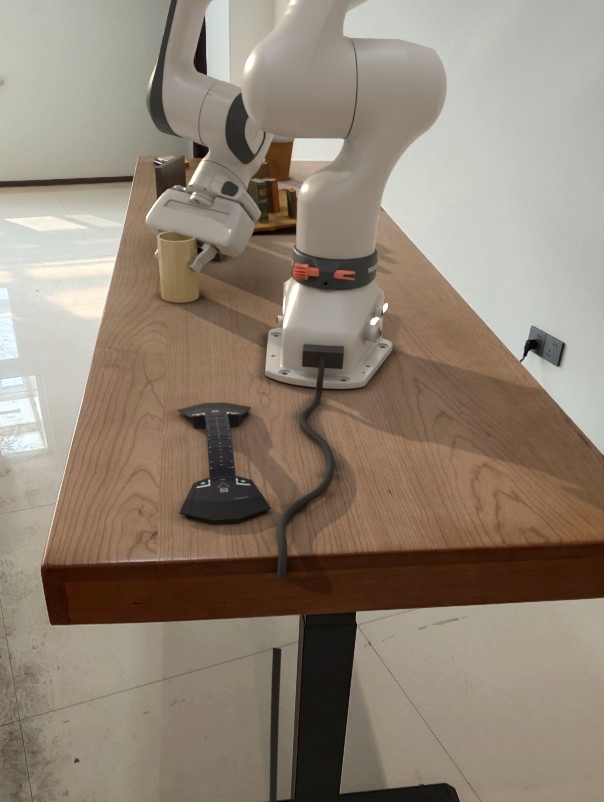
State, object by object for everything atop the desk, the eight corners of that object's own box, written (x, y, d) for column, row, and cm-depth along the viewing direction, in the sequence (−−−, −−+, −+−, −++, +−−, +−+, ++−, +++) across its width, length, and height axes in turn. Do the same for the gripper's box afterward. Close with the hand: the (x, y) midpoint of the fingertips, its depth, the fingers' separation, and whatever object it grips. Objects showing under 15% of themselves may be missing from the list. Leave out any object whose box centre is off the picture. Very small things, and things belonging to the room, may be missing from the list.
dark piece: (250, 405, 93) (249, 381, 91) (272, 521, 73) (272, 493, 71) (177, 408, 92) (176, 383, 90) (180, 526, 72) (178, 498, 70)
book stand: (316, 237, 159) (312, 162, 150) (207, 251, 157) (196, 176, 148) (293, 197, 187) (288, 132, 178) (201, 209, 185) (191, 143, 176)
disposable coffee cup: (301, 178, 209) (302, 131, 202) (278, 183, 203) (279, 135, 196) (276, 173, 214) (277, 127, 207) (253, 177, 208) (253, 130, 201)
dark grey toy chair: (220, 261, 142) (217, 172, 133) (160, 255, 144) (154, 167, 135) (238, 242, 154) (237, 159, 145) (183, 237, 155) (179, 154, 146)
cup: (192, 304, 123) (189, 243, 117) (156, 300, 123) (151, 239, 118) (203, 292, 128) (201, 232, 122) (168, 288, 129) (164, 229, 123)
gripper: (160, 171, 125) (122, 241, 124) (251, 191, 115) (210, 267, 114) (180, 195, 131) (144, 262, 130) (269, 216, 121) (230, 289, 120)
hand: (176, 265), depth 122 cm, fingers closed on cup, 6 cm apart
